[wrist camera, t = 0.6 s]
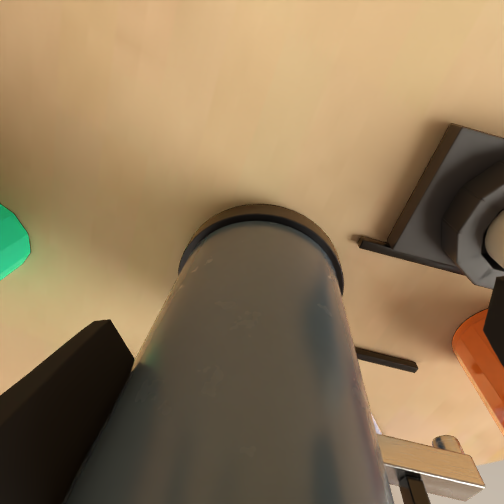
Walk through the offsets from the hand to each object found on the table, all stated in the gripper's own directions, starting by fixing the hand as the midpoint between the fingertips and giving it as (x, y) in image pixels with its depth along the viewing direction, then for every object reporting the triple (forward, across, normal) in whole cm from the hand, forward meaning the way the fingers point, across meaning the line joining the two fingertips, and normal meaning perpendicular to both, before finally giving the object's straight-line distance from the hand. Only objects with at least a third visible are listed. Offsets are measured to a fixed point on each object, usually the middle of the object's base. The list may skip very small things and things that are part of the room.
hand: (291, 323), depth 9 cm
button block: (+10, -12, +3) cm, 16 cm away
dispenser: (+10, -1, +7) cm, 12 cm away
